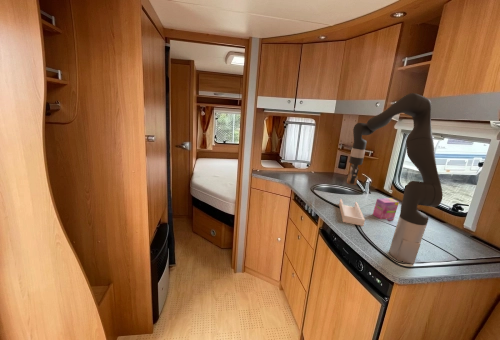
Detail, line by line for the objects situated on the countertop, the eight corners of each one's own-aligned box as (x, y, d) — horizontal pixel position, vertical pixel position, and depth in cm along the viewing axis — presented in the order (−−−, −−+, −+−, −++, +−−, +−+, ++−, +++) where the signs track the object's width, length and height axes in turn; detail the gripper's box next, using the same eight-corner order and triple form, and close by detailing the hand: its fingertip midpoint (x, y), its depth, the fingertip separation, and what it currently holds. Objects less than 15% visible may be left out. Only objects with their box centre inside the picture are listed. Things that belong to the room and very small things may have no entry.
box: (379, 221, 125) (384, 202, 122) (371, 216, 130) (376, 198, 127) (393, 220, 128) (399, 201, 124) (385, 216, 133) (390, 197, 130)
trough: (362, 228, 115) (364, 219, 113) (342, 224, 117) (344, 215, 116) (355, 209, 138) (357, 202, 137) (338, 206, 141) (340, 199, 139)
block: (356, 185, 136) (357, 177, 135) (347, 183, 138) (349, 175, 136) (355, 182, 141) (356, 175, 140) (346, 181, 142) (348, 174, 141)
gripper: (366, 159, 127) (359, 186, 132) (361, 155, 141) (355, 180, 145) (352, 157, 129) (346, 184, 134) (349, 153, 143) (343, 178, 147)
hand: (351, 182), depth 139 cm, fingers closed on block, 5 cm apart
